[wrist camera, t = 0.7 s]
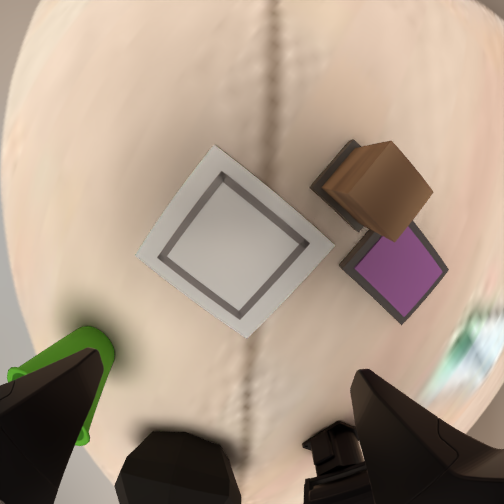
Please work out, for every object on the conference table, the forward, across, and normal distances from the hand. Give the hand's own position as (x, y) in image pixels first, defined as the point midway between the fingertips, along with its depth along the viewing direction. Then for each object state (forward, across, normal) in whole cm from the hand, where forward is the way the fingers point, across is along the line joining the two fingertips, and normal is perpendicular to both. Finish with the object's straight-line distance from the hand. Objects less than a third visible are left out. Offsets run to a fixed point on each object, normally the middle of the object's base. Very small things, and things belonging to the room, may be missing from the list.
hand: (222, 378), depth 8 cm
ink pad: (+14, -14, 0) cm, 19 cm away
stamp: (+14, -8, -6) cm, 17 cm away
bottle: (+14, +7, +30) cm, 34 cm away
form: (+14, +1, 0) cm, 14 cm away
